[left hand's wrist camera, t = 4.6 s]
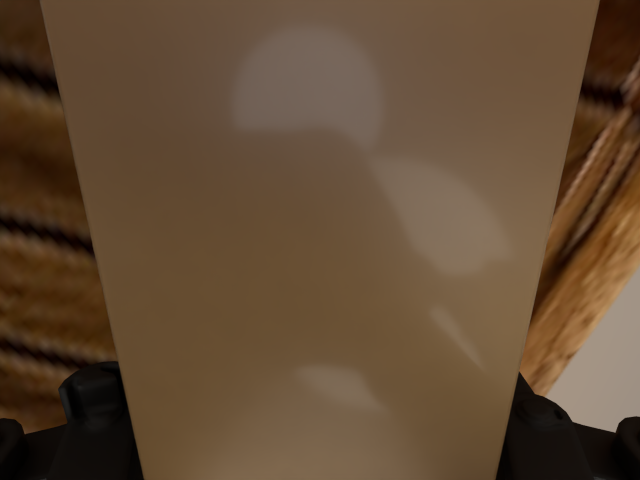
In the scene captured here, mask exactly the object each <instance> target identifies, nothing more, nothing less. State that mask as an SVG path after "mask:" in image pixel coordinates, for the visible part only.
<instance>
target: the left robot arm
mask: <svg viewBox="0 0 640 480" xmlns="http://www.w3.org/2000/svg"><path fill="white" fill-rule="evenodd" d="M58 391H59V394H60V398H61V401H62V404H63V408H64V411H65V415H66V418H67V422H68V423H67V424H64V425H61V426H58V427H54V428H50V429H46V430H41V431H37V432H33V433H29V434H24V431H23V428H22V425H21V424H20V423H18V422H17V421H16V420H14V419H7V418H2V419H0V480H144V477H143V472H142V468H141V463H140V459H139V454H138V450H137V445H136V440H135V436H134V431H133V427H132V422H131V417H130V413H129V408H128V404H127V399H126V395H125V390H124V385H123V381H122V376H121V372H120V367H119V362H116V361H111V362H101V363H97V364H93V365H89V366H87V367H85V368H83V369H81V370H78V371H76V372H75V373H73V374H72V375H71V376H69V377H68V378H67V379H65V380H64V382H63V383H62V384H61V386H60V387H59V388H58ZM495 480H640V417H637V416H636V417H629V418H625V419H623V420H622V421H621V422H620V423H619V424H618V427H617V430H616V433H614V432H610V431H606V430H601V429H597V428H593V427H589V426H584V425H581V424H577V423H574V422H572V420H571V419H570V417H569V416H568V414H567V412H566V411H564V410H563V409H562V408H561V407H560V406H559V405H557V404H556V403H554V402H553V401H551V400H549V399H547V398H545V397H543V396H540V395H536V394H534V392H533V391H532V389H531V388H530V386H529V385H528V383H527V382H526V380H525V379H524V378H523V376H522V375H521V373H520V372H519V373H518V378H517V383H516V387H515V392H514V396H513V401H512V406H511V410H510V415H509V419H508V424H507V429H506V433H505V438H504V442H503V447H502V452H501V456H500V461H499V465H498V470H497V475H496V479H495Z"/></svg>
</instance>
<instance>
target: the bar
mask: <svg viewBox="0 0 640 480" xmlns="http://www.w3.org/2000/svg"><path fill="white" fill-rule="evenodd" d="M599 1H600V0H40V5H41V9H42V14H43V19H44V23H45V28H46V32H47V37H48V42H49V46H50V51H51V55H52V60H53V64H54V69H55V74H56V78H57V83H58V87H59V92H60V97H61V101H62V106H63V110H64V115H65V119H66V124H67V129H68V133H69V138H70V142H71V147H72V152H73V156H74V161H75V165H76V170H77V174H78V179H79V184H80V188H81V193H82V197H83V202H84V207H85V211H86V216H87V220H88V225H89V229H90V234H91V239H92V243H93V248H94V252H95V257H96V262H97V266H98V271H99V275H100V280H101V284H102V289H103V294H104V298H105V303H106V307H107V312H108V317H109V321H110V326H111V330H112V335H113V339H114V344H115V349H116V353H117V358H118V362H119V367H120V372H121V376H122V381H123V385H124V390H125V395H126V399H127V404H128V408H129V413H130V417H131V422H132V427H133V431H134V436H135V440H136V445H137V450H138V454H139V459H140V463H141V468H142V472H143V477H144V480H495V479H496V475H497V470H498V465H499V461H500V456H501V452H502V447H503V442H504V438H505V433H506V429H507V424H508V419H509V415H510V410H511V406H512V401H513V396H514V392H515V387H516V383H517V378H518V373H519V369H520V364H521V360H522V355H523V351H524V346H525V341H526V337H527V332H528V328H529V323H530V318H531V314H532V309H533V305H534V300H535V295H536V291H537V286H538V282H539V277H540V272H541V268H542V263H543V259H544V254H545V249H546V245H547V240H548V236H549V231H550V226H551V222H552V217H553V213H554V208H555V203H556V199H557V194H558V190H559V185H560V180H561V176H562V171H563V167H564V162H565V157H566V153H567V148H568V144H569V139H570V135H571V130H572V125H573V121H574V116H575V112H576V107H577V102H578V98H579V93H580V89H581V84H582V79H583V75H584V70H585V66H586V61H587V56H588V52H589V47H590V43H591V38H592V33H593V29H594V24H595V20H596V15H597V10H598V6H599Z"/></svg>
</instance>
